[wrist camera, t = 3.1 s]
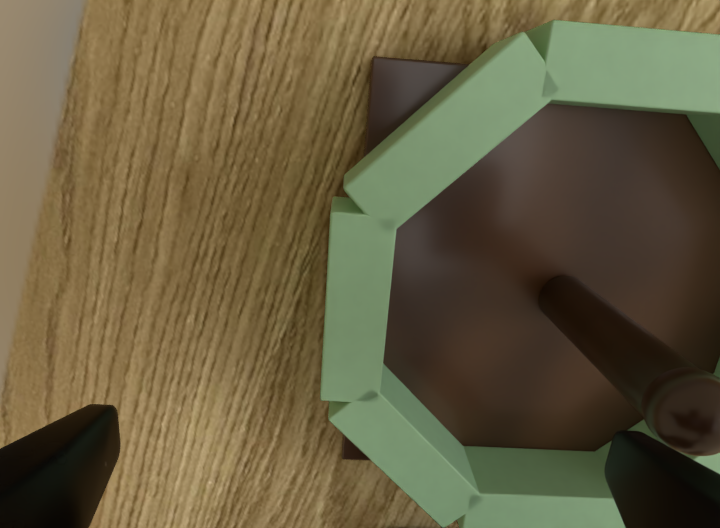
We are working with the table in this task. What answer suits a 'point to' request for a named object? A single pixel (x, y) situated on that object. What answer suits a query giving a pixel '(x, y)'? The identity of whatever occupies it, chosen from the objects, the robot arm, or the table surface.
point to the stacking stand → (558, 278)
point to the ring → (423, 183)
